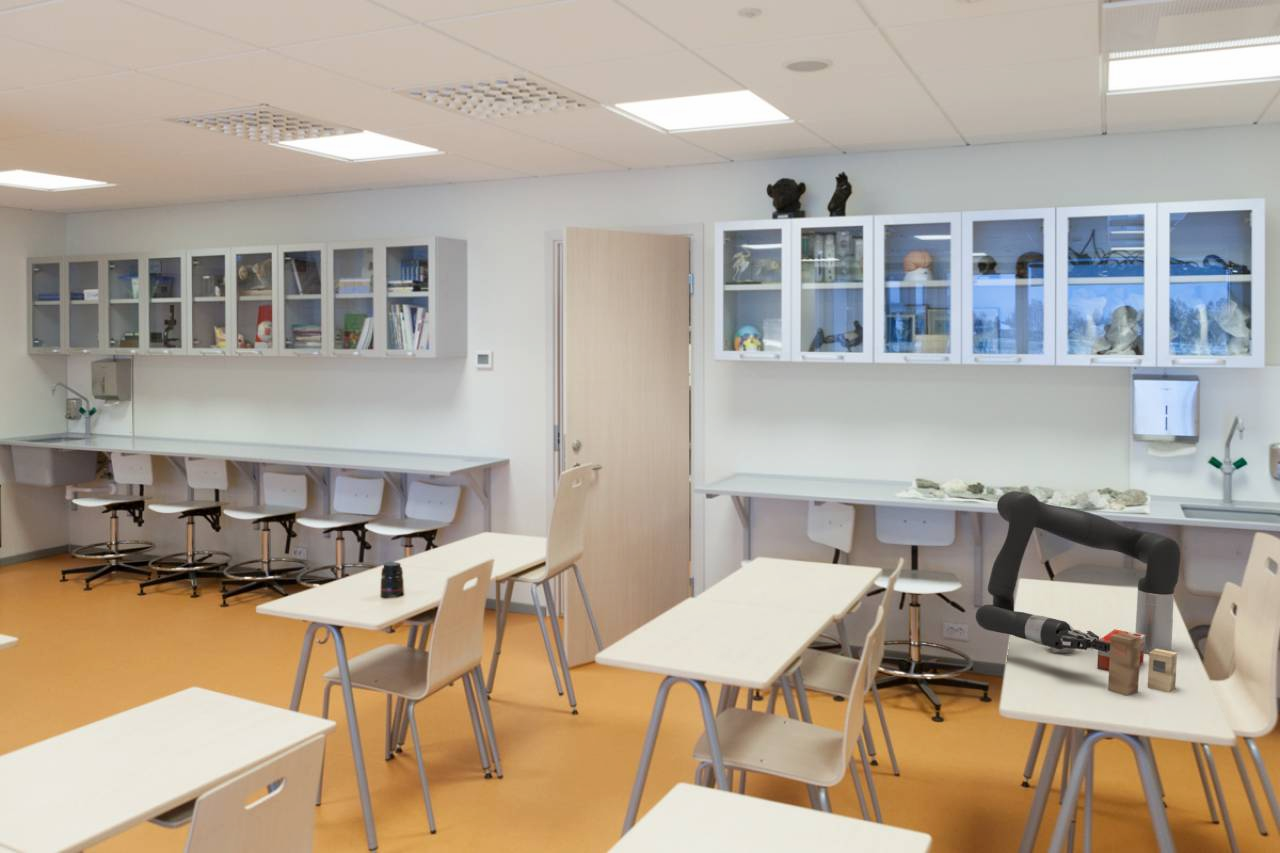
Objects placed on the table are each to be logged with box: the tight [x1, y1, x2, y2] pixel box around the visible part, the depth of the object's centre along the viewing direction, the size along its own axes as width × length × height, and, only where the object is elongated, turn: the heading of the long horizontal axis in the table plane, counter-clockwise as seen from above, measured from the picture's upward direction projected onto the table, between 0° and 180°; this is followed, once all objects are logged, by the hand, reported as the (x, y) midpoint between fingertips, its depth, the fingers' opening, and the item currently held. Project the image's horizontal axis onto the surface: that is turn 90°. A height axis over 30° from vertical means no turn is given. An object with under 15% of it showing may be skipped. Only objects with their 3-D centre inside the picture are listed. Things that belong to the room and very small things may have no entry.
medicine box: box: [1096, 628, 1145, 672], centre depth 277 cm, size 15×8×8 cm, turn 140°
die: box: [1049, 623, 1075, 654], centre depth 289 cm, size 8×9×10 cm
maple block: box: [1147, 649, 1178, 693], centre depth 259 cm, size 5×5×9 cm
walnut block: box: [1107, 632, 1141, 696], centre depth 256 cm, size 5×5×14 cm
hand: (1109, 647), depth 259 cm, fingers closed
